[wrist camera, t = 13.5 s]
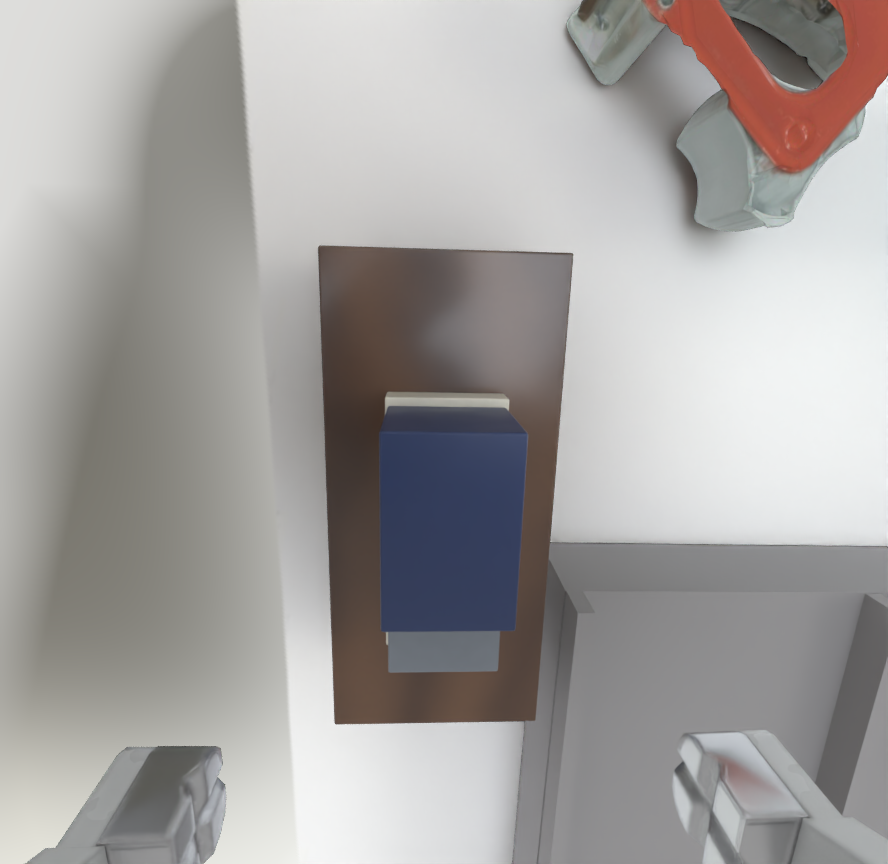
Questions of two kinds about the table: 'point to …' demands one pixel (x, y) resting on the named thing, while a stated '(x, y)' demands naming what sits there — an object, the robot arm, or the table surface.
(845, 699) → the desk organizer
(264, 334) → the table surface
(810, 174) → the tape dispenser
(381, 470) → the navy lidded box
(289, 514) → the table surface
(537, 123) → the table surface
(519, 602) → the brown wooden block
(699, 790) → the robot arm
